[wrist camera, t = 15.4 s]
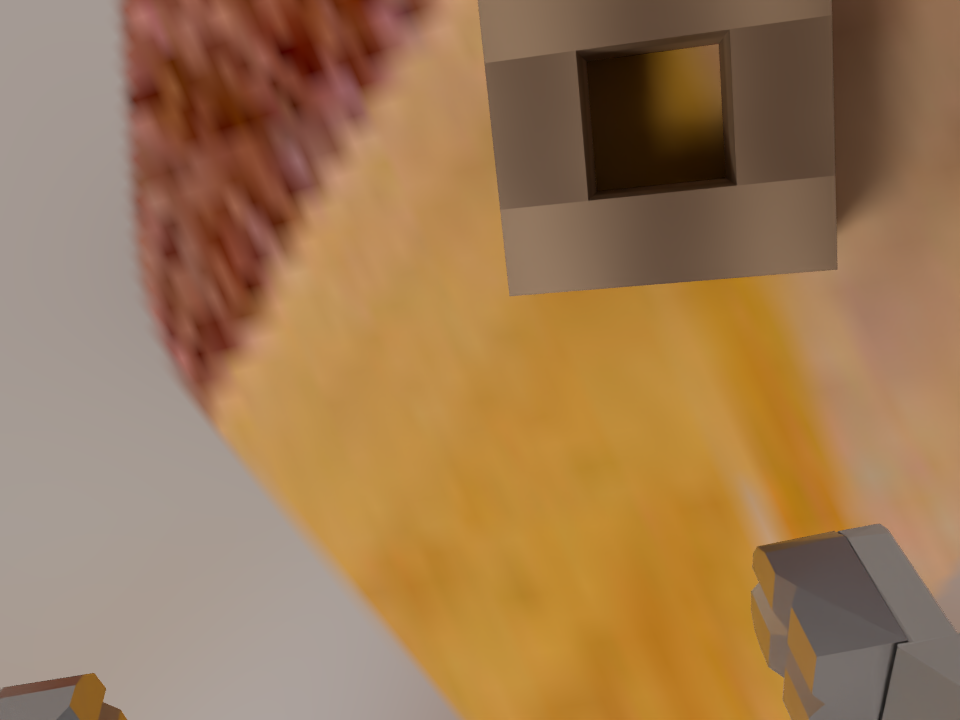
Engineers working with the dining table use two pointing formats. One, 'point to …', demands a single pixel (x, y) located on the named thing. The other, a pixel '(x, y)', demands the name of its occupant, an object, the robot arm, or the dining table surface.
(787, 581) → the robot arm
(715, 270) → the socket block
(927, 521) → the dining table surface
